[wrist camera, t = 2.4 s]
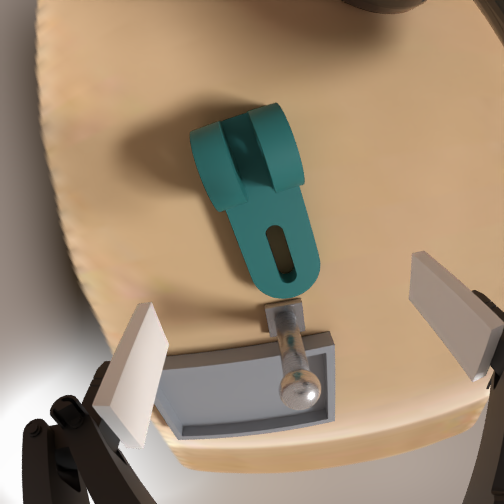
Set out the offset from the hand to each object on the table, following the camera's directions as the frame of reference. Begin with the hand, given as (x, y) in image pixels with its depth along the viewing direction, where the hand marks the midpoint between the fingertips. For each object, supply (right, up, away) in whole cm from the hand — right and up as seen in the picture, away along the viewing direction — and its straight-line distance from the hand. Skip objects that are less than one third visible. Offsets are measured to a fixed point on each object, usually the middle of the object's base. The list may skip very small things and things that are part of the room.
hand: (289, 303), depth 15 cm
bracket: (0, +7, +15) cm, 16 cm away
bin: (-3, -16, +24) cm, 30 cm away
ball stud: (+2, -5, +19) cm, 20 cm away
